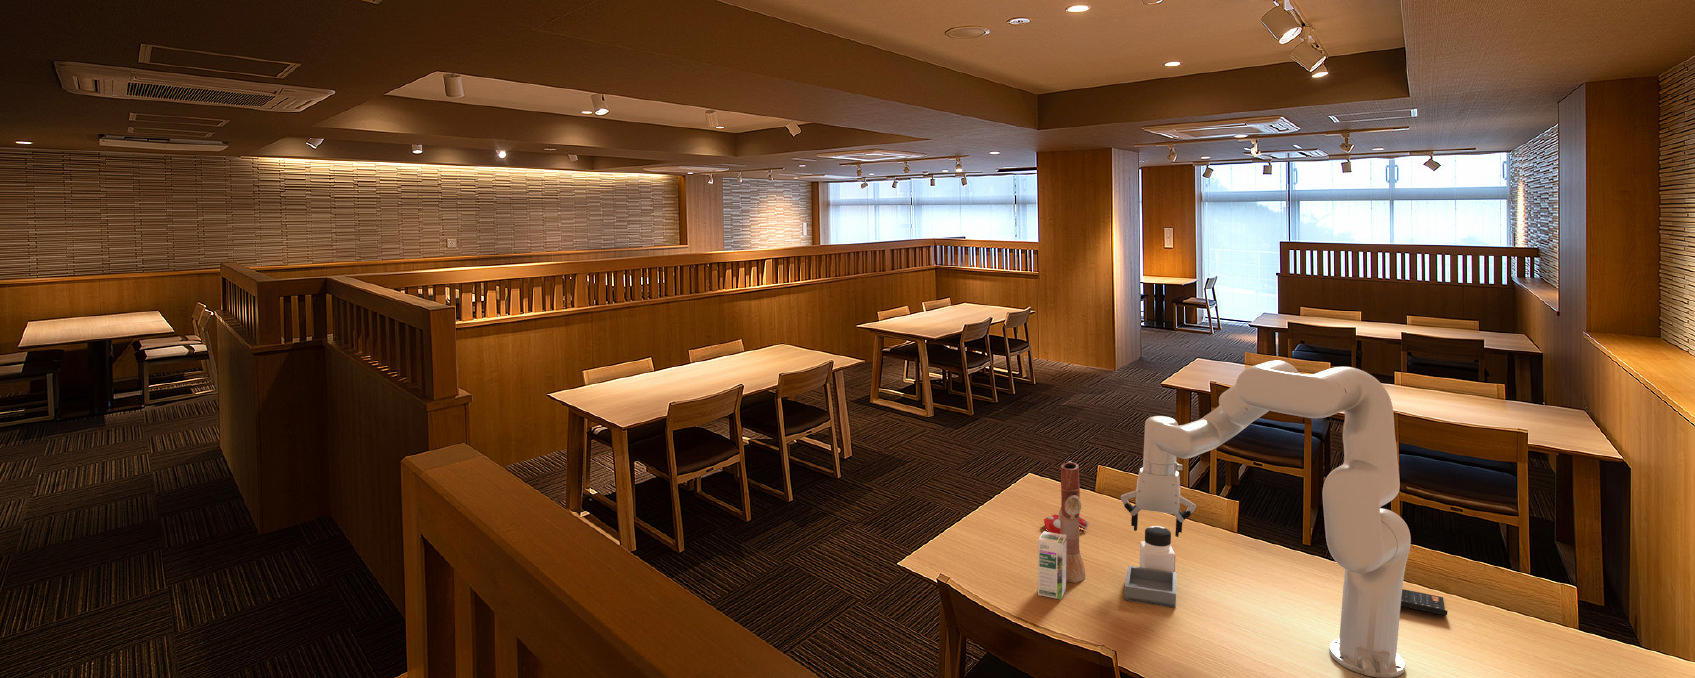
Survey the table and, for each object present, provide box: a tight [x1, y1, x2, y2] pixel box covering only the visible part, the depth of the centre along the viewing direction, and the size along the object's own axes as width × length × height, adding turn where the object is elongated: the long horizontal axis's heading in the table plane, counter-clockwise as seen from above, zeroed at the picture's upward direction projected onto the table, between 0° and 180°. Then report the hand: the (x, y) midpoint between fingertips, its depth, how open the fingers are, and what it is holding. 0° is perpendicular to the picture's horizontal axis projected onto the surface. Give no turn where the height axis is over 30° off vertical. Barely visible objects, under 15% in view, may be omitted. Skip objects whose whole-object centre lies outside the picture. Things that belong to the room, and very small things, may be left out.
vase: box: [1058, 460, 1086, 583], centre depth 190 cm, size 11×7×30 cm
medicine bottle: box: [1139, 525, 1176, 572], centre depth 192 cm, size 7×7×12 cm
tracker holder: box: [1043, 513, 1090, 534], centre depth 221 cm, size 12×4×10 cm
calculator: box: [1401, 588, 1448, 616], centre depth 173 cm, size 9×12×3 cm
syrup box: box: [1037, 530, 1067, 601], centre depth 184 cm, size 6×6×14 cm
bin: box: [1124, 565, 1177, 609], centre depth 183 cm, size 11×11×4 cm
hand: (1156, 531), depth 191 cm, fingers open, 9 cm apart
